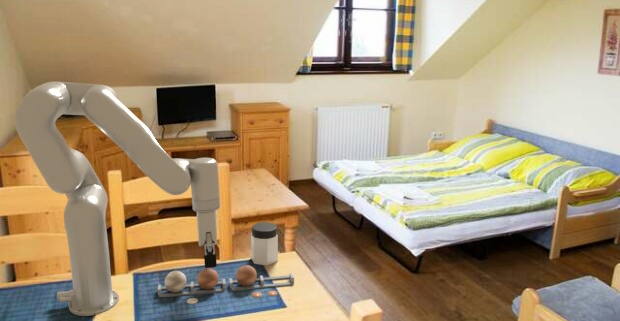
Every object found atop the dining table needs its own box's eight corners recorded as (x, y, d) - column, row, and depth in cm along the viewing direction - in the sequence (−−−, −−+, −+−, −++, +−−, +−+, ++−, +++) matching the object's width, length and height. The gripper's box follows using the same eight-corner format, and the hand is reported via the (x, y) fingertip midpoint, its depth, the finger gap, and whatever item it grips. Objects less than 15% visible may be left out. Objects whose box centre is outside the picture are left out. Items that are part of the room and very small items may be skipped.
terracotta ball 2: (237, 290, 146) (236, 271, 144) (235, 280, 151) (235, 262, 150) (258, 288, 147) (257, 269, 146) (255, 279, 153) (255, 260, 151)
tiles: (175, 308, 137) (175, 306, 137) (175, 300, 141) (175, 298, 141) (281, 297, 144) (281, 295, 143) (279, 290, 147) (279, 289, 147)
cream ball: (164, 297, 141) (163, 277, 140) (165, 287, 147) (164, 268, 146) (186, 295, 143) (185, 276, 141) (187, 285, 148) (186, 266, 147)
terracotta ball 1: (197, 294, 143) (197, 275, 142) (197, 284, 149) (196, 265, 147) (219, 292, 145) (218, 273, 143) (218, 282, 150) (217, 263, 149)
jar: (249, 256, 169) (249, 222, 166) (273, 253, 171) (273, 220, 168) (254, 268, 161) (254, 233, 158) (279, 265, 163) (280, 230, 160)
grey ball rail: (157, 299, 141) (157, 291, 141) (158, 290, 146) (158, 282, 146) (294, 286, 150) (294, 279, 149) (291, 278, 155) (291, 271, 154)
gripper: (192, 194, 148) (196, 248, 152) (192, 215, 131) (197, 275, 136) (218, 191, 149) (221, 245, 154) (221, 212, 133) (225, 271, 137)
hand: (210, 259), depth 145 cm, fingers open, 9 cm apart
